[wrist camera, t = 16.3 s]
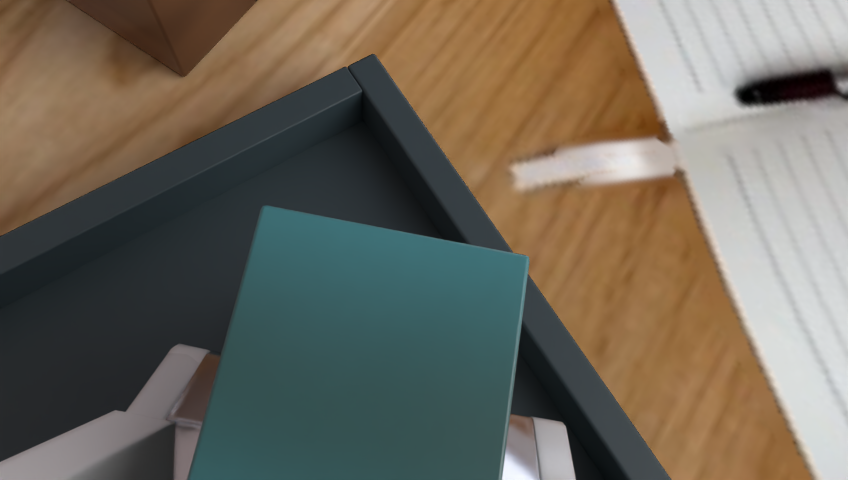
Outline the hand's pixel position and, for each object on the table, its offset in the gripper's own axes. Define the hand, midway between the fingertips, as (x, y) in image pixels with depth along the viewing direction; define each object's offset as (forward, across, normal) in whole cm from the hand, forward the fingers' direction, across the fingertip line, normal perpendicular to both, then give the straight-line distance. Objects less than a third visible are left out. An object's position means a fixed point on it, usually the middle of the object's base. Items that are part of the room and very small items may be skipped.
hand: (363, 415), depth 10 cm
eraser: (+3, 0, +4) cm, 5 cm away
